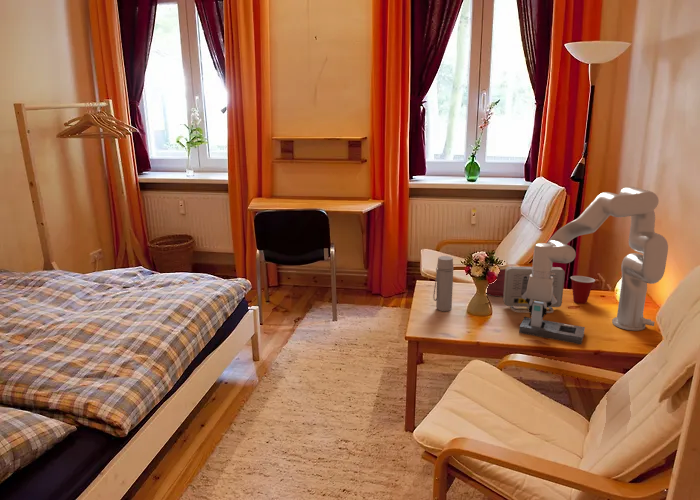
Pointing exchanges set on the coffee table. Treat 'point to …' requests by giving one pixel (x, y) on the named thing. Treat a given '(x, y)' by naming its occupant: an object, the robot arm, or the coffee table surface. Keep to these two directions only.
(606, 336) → the coffee table surface
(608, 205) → the robot arm
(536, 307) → the plug
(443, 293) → the water bottle
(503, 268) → the canister
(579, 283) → the plastic cup
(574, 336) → the panel
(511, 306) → the network device
